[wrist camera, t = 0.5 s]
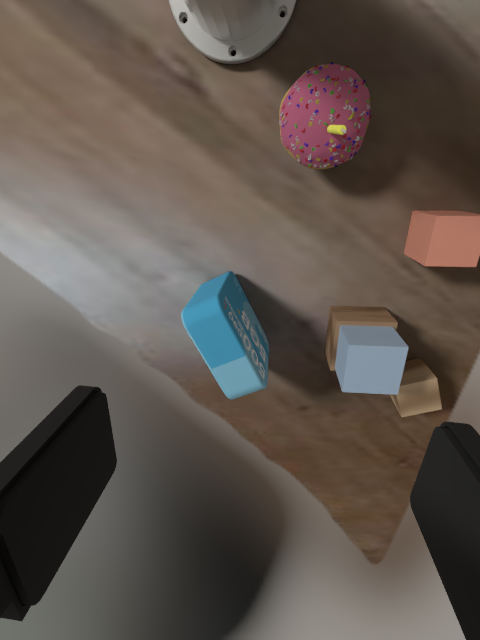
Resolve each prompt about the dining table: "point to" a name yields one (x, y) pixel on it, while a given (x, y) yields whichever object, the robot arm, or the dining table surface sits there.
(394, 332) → the tower top
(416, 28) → the dining table surface
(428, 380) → the block
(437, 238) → the salmon orange block
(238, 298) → the data package
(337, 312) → the tower base
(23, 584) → the robot arm
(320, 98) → the cupcake
